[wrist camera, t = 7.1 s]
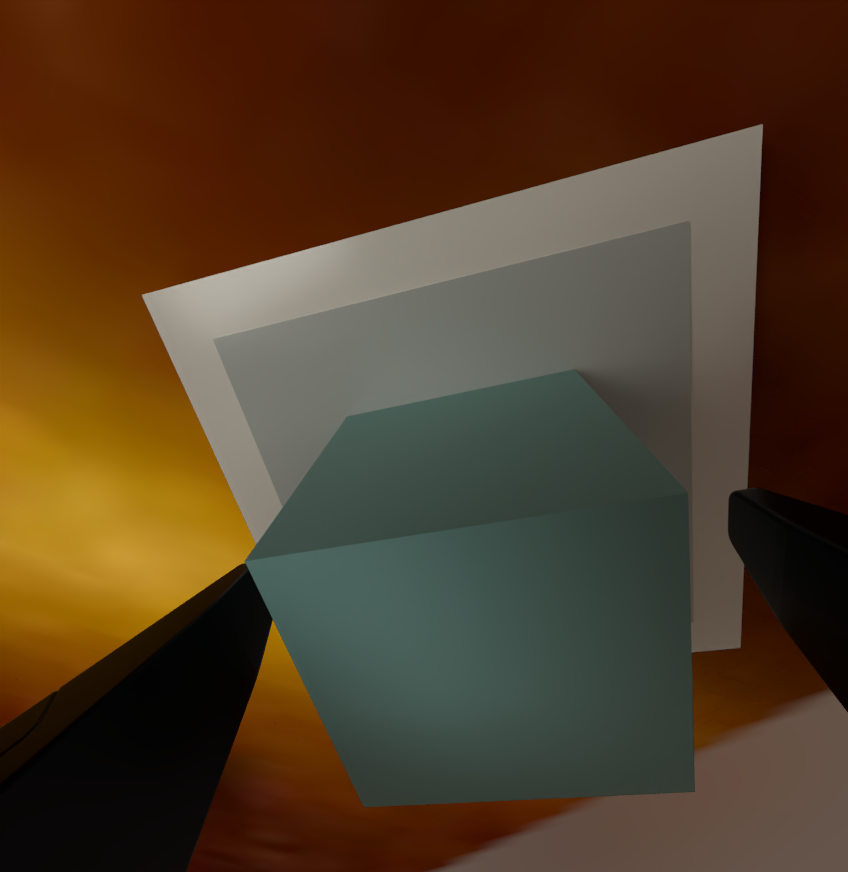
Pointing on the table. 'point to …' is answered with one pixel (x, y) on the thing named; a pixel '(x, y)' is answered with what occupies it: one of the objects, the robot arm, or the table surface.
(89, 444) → the table surface
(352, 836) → the table surface
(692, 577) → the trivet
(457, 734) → the cube
